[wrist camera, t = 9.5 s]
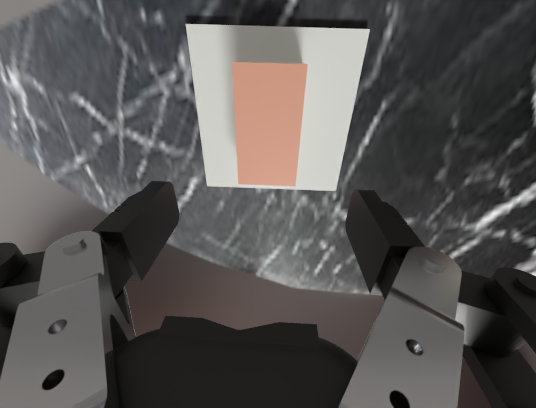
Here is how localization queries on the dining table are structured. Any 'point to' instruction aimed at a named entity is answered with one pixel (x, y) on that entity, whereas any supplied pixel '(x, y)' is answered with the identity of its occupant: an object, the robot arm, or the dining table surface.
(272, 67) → the card box
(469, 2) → the dining table surface
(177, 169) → the dining table surface
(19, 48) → the dining table surface
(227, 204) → the dining table surface
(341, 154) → the mat
